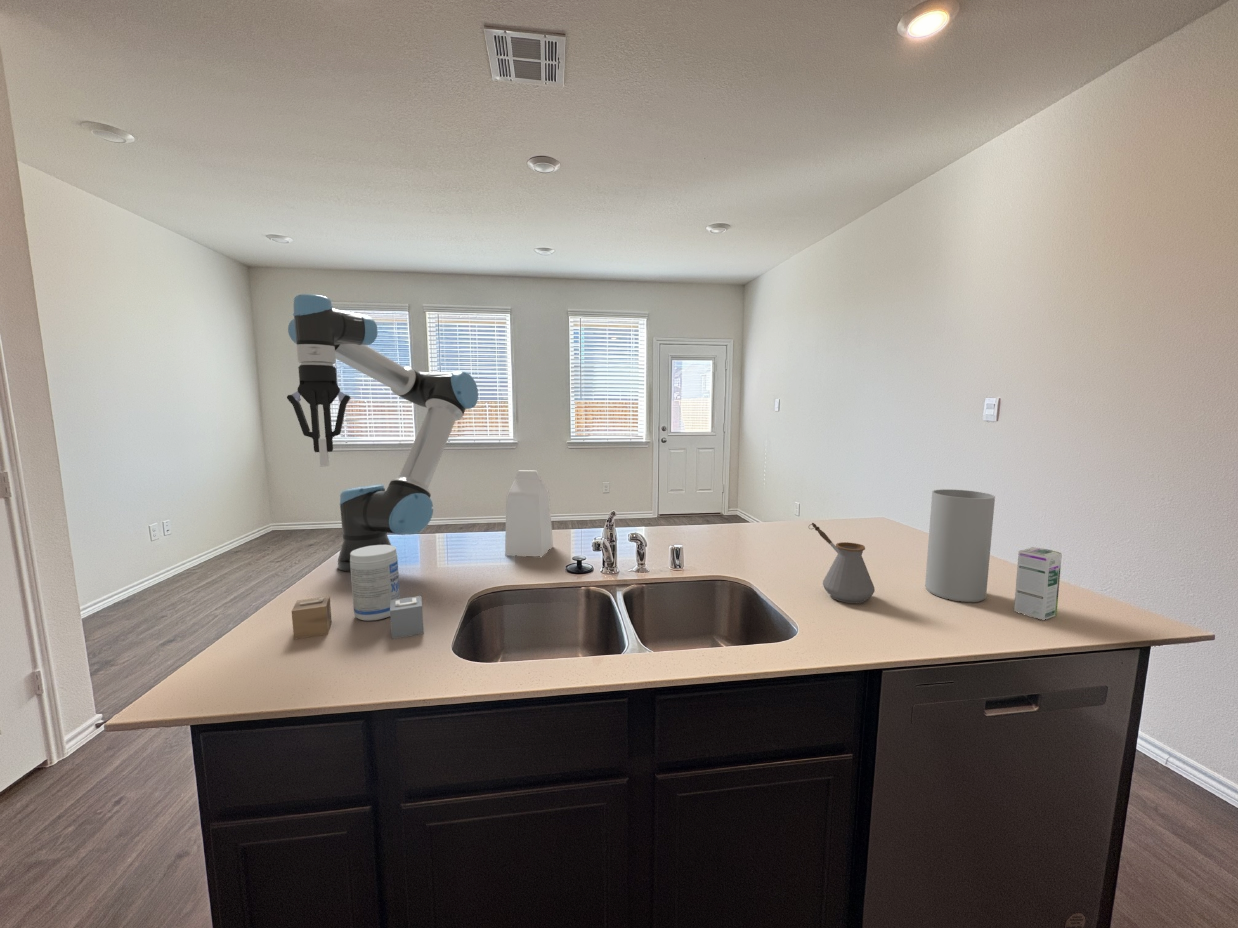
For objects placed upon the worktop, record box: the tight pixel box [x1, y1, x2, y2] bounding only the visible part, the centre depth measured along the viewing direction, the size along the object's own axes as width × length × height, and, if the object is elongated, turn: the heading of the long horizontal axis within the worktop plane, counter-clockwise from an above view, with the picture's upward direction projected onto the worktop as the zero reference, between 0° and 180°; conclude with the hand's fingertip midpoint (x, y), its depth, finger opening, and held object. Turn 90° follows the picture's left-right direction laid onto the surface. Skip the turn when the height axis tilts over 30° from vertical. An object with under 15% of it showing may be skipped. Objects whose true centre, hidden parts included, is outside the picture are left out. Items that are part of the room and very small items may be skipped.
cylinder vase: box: [924, 488, 996, 603], centre depth 122 cm, size 12×12×25 cm
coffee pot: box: [808, 522, 876, 604], centre depth 125 cm, size 21×12×15 cm, turn 13°
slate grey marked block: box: [389, 595, 425, 640], centre depth 104 cm, size 6×6×6 cm
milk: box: [504, 469, 554, 557], centre depth 159 cm, size 12×12×26 cm
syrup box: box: [1013, 546, 1063, 621], centre depth 110 cm, size 6×6×14 cm
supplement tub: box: [350, 544, 401, 621], centre depth 112 cm, size 10×10×15 cm
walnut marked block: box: [291, 595, 333, 640], centre depth 104 cm, size 6×6×6 cm
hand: (324, 465), depth 119 cm, fingers closed
